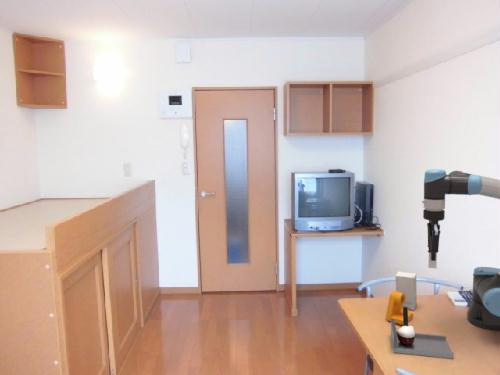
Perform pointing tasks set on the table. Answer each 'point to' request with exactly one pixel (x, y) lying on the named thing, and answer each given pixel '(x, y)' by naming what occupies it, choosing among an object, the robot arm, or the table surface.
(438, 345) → the grey dustpan
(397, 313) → the bracket
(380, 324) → the table surface
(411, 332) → the cocoa
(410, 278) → the skincare box
